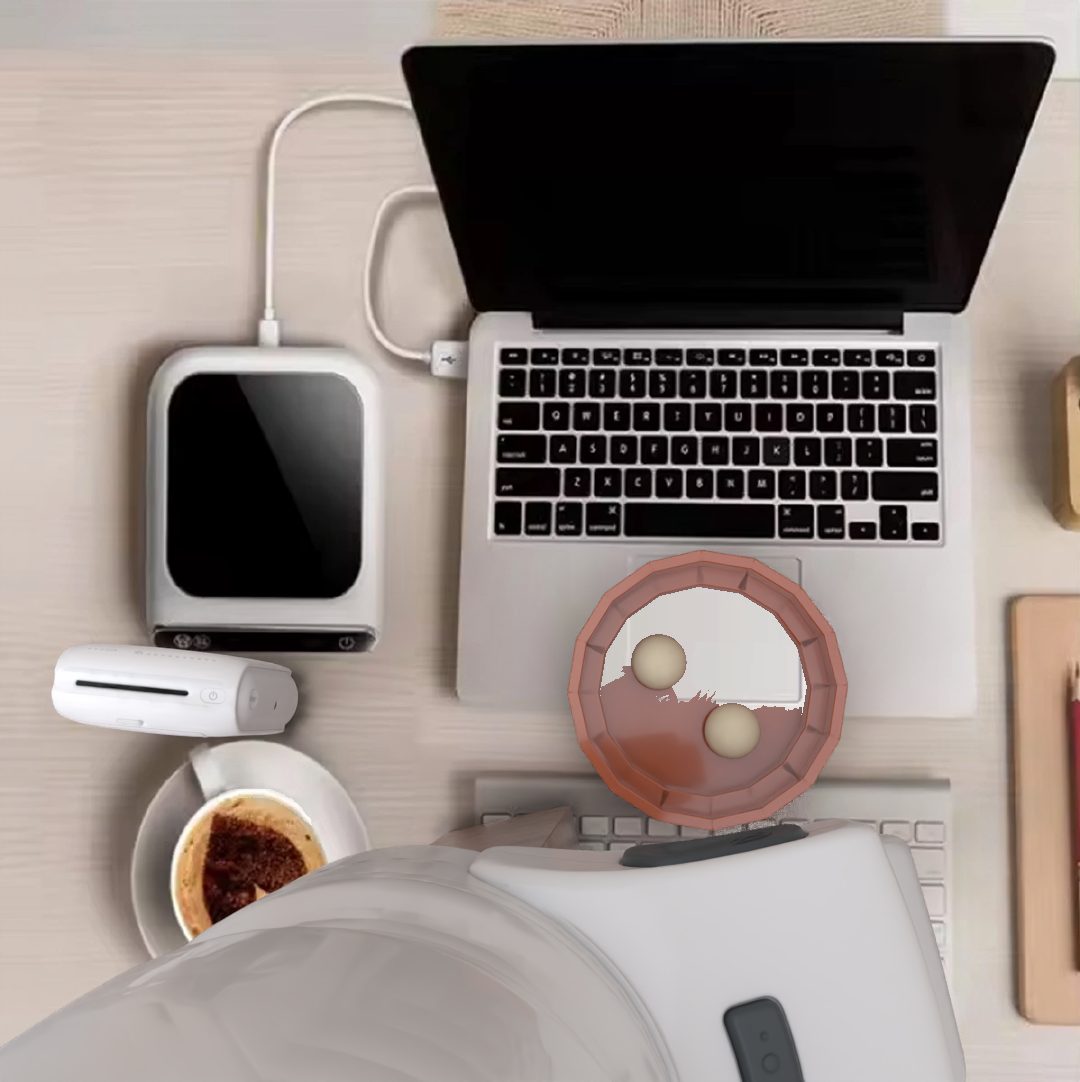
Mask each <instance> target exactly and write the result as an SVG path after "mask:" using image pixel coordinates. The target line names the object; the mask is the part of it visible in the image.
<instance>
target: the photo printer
mask: <svg viewBox="0 0 1080 1082" xmlns="http://www.w3.org/2000/svg"><path fill="white" fill-rule="evenodd" d="M292 672H293V671H292V670H291V669H290V668H288V667H286V666H283V665H281V664H277V663H274V662H270V661H264V660H259V659H254V658H248V657H241V656H235V655H229V654H220V653H213V652H204V651H197V650H196V651H195V650H187V649H178V648H171V647H170V648H167V647H158V646H147V645H135V644H120V643H104V642H101V643H100V642H93V643H82V644H76V645H71V646H68V647H67V648H65V649H64V650H63V652H62V653H61V654H60V656H59V657H58V660H57V661H56V665H55V668H54V678H53V679H54V680H53V686H52V687H51V692H50V693H51V701H52V703H53V707H54V709H55V711H56V712H57V714H58V715H59V716H61V717H64V718H66V719H67V720H71V721H73V722H76V723H79V724H83V725H86V726H93V727H99V728H106V729H113V730H121V731H128V732H129V731H130V732H136V733H146V734H155V735H157V734H158V735H167V736H168V735H169V736H178V737H179V736H180V737H193V738H196V737H198V738H221V737H222V738H223V737H239V736H240V737H241V736H262V735H263V736H265V735H275V734H276V735H277V734H281V733H284V731H285V727H286V725H287V724H288V723H289V722H290V721H291V720H292V718H293V717H294V715H295V713H296V710H297V708H298V703H299V690H298V687H297V685H296V682H295V680H294V678H293V677H292Z"/></svg>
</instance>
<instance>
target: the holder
mask: <svg viewBox="0 0 1080 1082" xmlns="http://www.w3.org/2000/svg"><path fill="white" fill-rule="evenodd" d="M429 845H433V846H449V847H455V848H461V849H467V850H473V851H477V852H482V851H484V850H486V849H488V848H491V847H497V846H521V847H539V848H553V849H568V850H582V849H581V844H580V839H579V836H578V831H577V827H576V822H575V817H574V813H573V809H572V805H571V804H566V805H561V806H557V807H552V808H548V809H544V810H538V811H535V812H531V813H526V814H522V815H517V816H513V817H508V818H504V819H500V820H494V821H491V822H487V823H482V824H478V825H477V824H476V825H473V826H469V827H463V828H460V829H455V830H451V831H448V832H446V833H445V834H443V835H442V836H441V837H439V838H438V839H437V838H436V840H434V841H433V842H431V843H429Z"/></svg>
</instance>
